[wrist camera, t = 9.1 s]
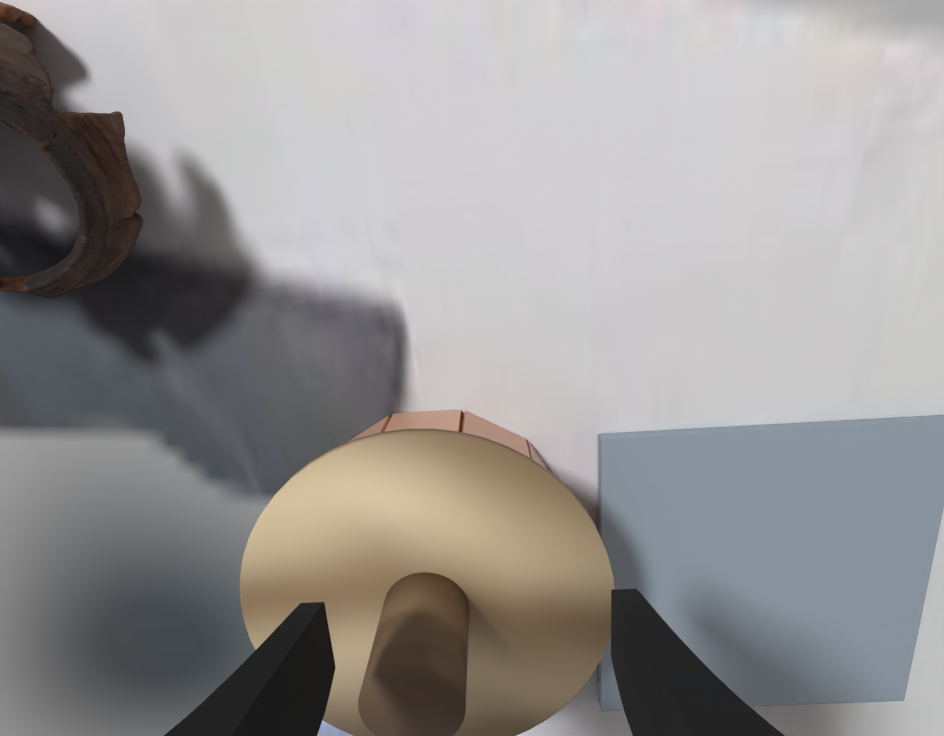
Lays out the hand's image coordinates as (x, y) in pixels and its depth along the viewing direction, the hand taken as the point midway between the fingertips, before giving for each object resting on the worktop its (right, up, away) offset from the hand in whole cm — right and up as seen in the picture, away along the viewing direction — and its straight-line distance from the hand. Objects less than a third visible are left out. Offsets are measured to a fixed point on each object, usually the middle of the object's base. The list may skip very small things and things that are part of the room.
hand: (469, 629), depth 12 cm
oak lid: (-2, -2, +7) cm, 7 cm away
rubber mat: (+14, -3, +11) cm, 18 cm away
